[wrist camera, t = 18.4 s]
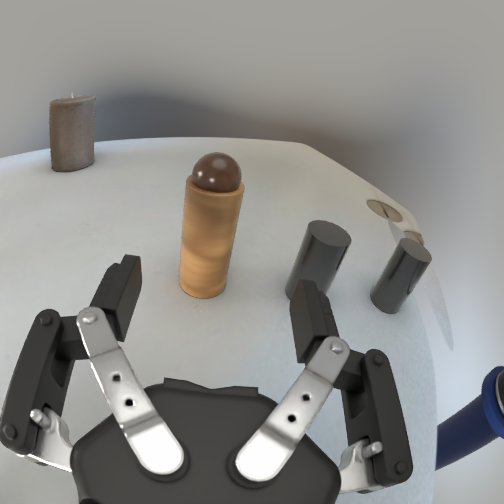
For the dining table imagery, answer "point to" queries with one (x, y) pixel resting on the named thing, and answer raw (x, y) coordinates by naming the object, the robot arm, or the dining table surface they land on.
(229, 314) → the dining table surface
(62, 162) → the pillar candle
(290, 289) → the grey upright cylinder
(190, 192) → the pepper mill
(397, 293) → the dark grey upright cylinder
